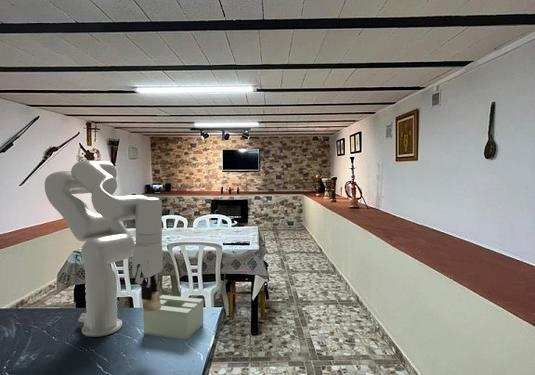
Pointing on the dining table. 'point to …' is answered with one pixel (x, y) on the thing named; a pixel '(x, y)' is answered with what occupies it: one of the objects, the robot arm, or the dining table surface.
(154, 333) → the box
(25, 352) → the dining table surface
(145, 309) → the block
